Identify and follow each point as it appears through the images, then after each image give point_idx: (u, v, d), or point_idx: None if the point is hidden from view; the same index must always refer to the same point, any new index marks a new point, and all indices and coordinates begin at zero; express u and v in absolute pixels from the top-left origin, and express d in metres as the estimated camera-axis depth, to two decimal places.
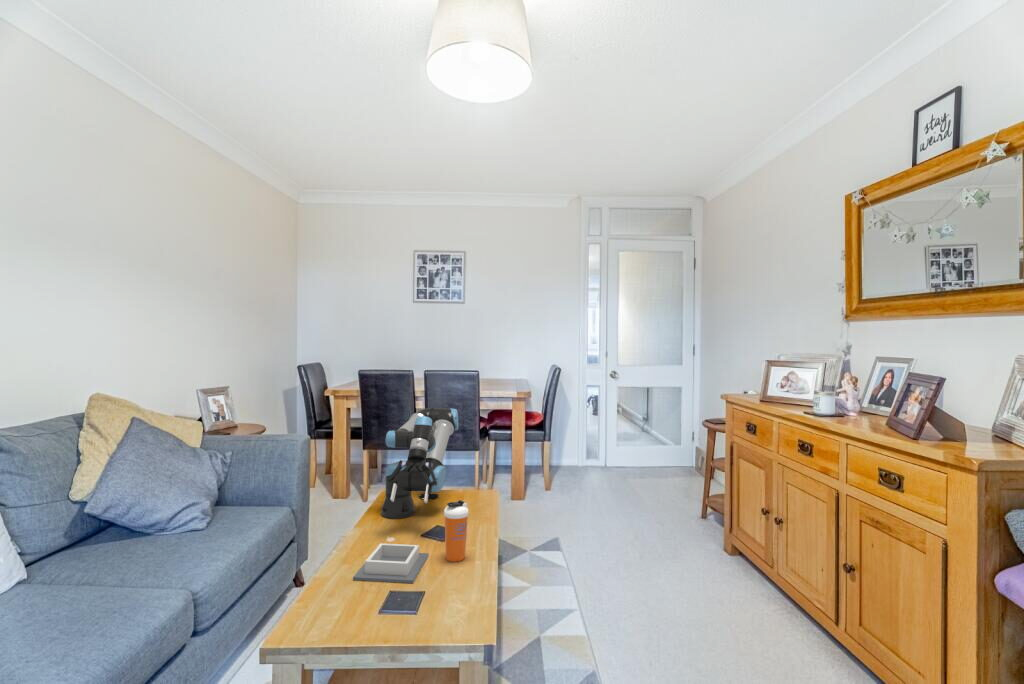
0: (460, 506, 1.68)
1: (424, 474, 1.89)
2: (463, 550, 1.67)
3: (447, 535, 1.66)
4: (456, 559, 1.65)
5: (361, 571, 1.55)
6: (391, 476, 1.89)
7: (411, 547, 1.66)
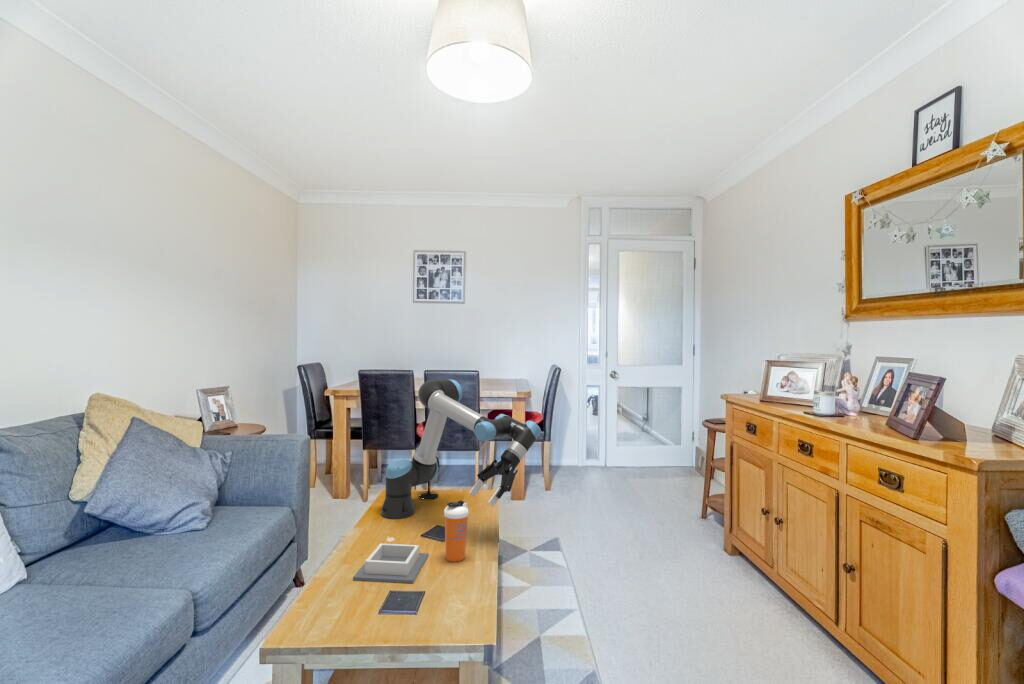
0: (460, 506, 1.68)
1: None
2: (463, 550, 1.67)
3: (447, 535, 1.66)
4: (456, 559, 1.65)
5: (361, 571, 1.55)
6: None
7: (411, 547, 1.66)
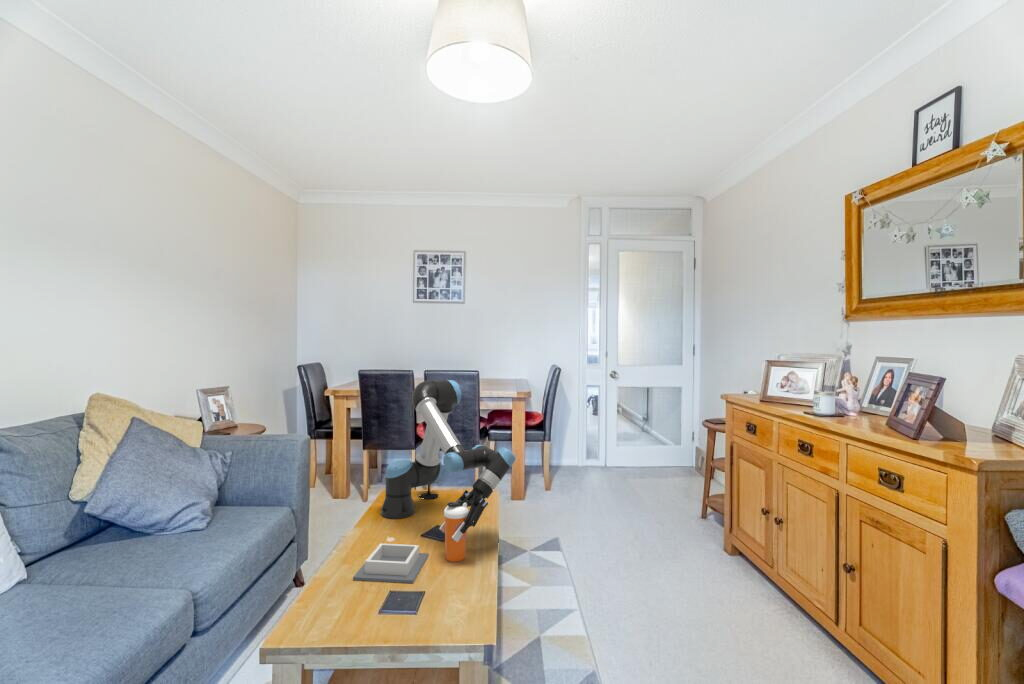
0: (460, 506, 1.68)
1: None
2: (463, 550, 1.67)
3: (447, 535, 1.66)
4: (456, 559, 1.65)
5: (361, 571, 1.55)
6: None
7: (411, 547, 1.66)
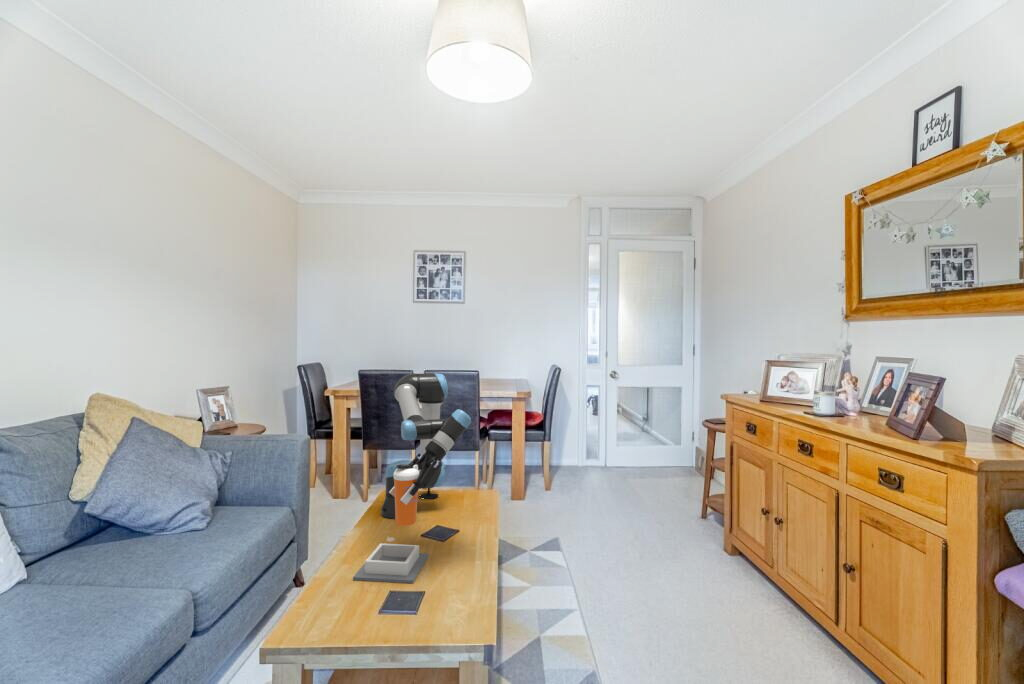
0: (410, 468, 1.60)
1: None
2: (414, 513, 1.59)
3: (396, 498, 1.58)
4: (405, 523, 1.58)
5: (361, 571, 1.55)
6: None
7: (411, 547, 1.66)
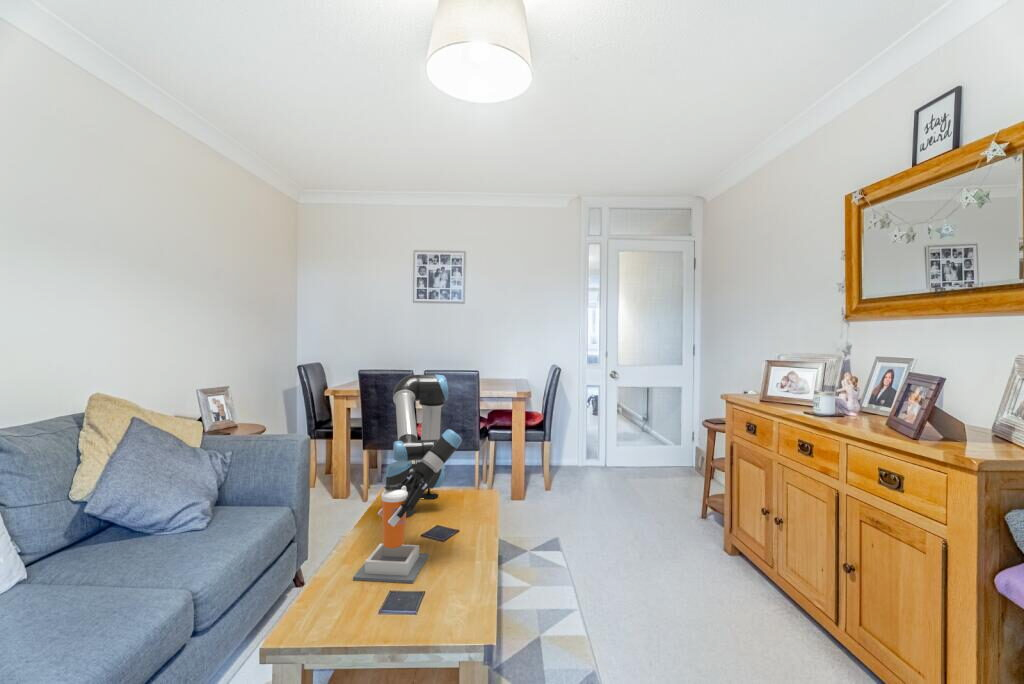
0: (398, 489, 1.59)
1: None
2: (402, 535, 1.58)
3: (384, 520, 1.57)
4: (393, 545, 1.56)
5: (361, 571, 1.55)
6: None
7: (411, 547, 1.66)
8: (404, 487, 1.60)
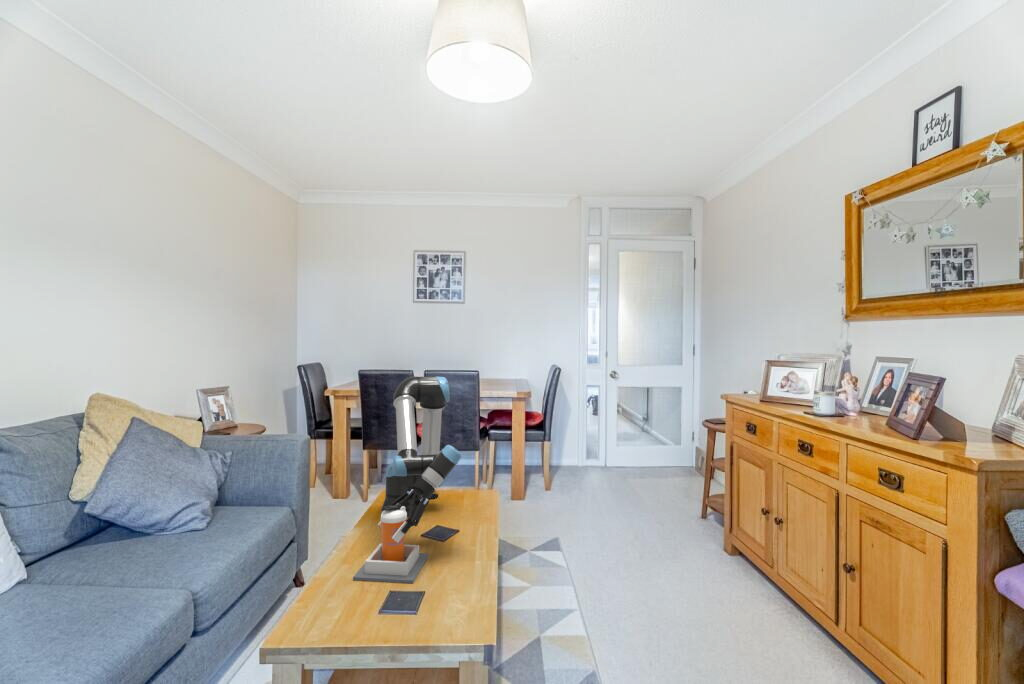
0: (397, 510, 1.60)
1: None
2: (401, 556, 1.59)
3: (383, 540, 1.58)
4: None
5: (361, 571, 1.55)
6: None
7: (411, 547, 1.66)
8: (403, 507, 1.61)
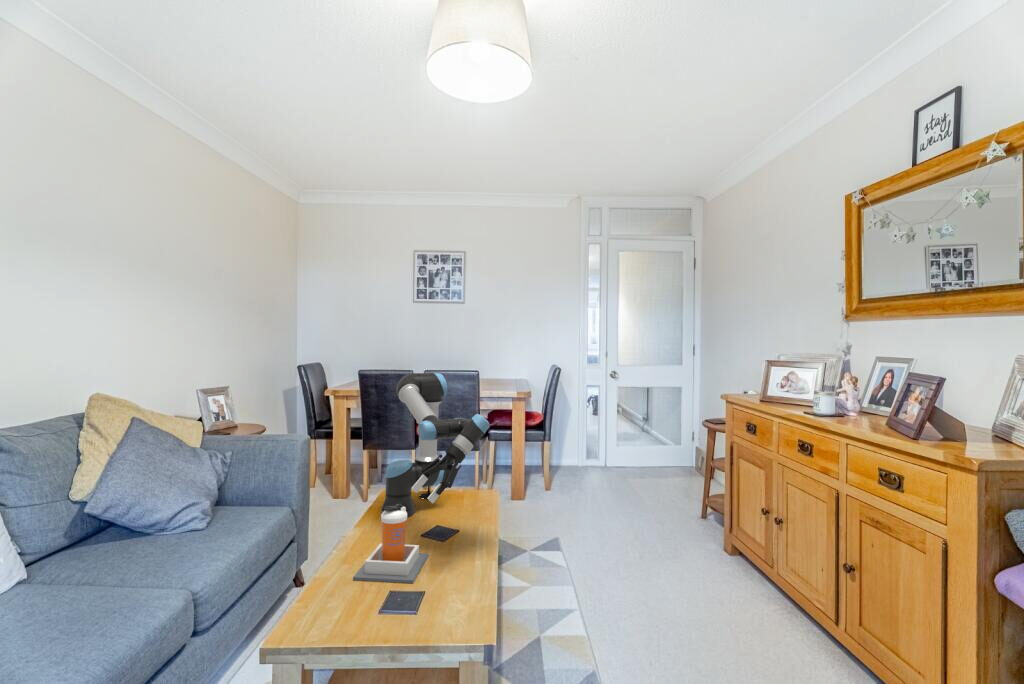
0: (398, 510, 1.60)
1: None
2: (401, 556, 1.59)
3: (383, 541, 1.58)
4: None
5: (361, 571, 1.55)
6: None
7: (411, 547, 1.66)
8: (403, 508, 1.61)
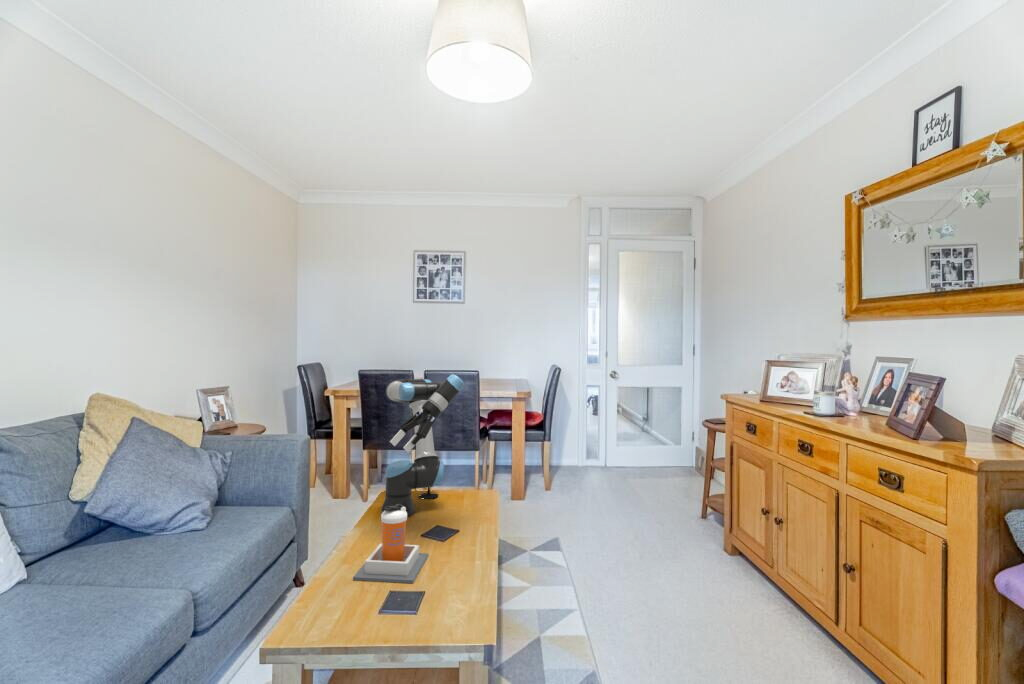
0: (398, 510, 1.60)
1: None
2: (401, 556, 1.59)
3: (383, 541, 1.58)
4: None
5: (361, 571, 1.55)
6: None
7: (411, 547, 1.66)
8: (403, 508, 1.61)
